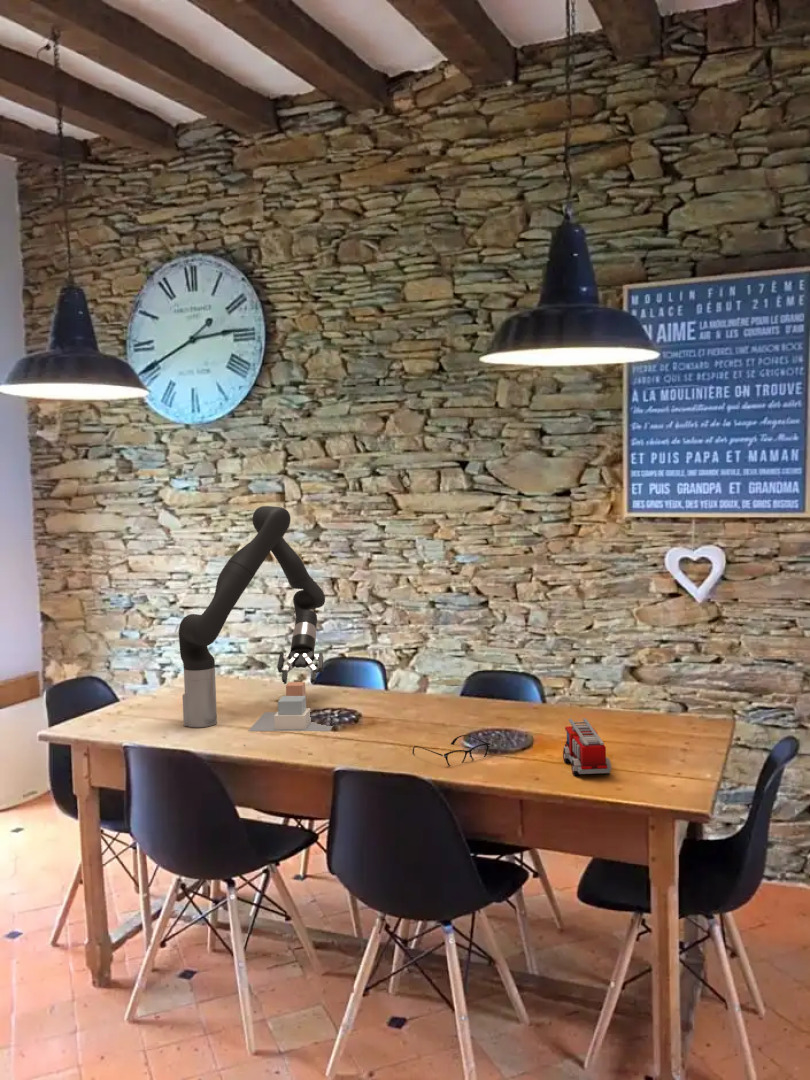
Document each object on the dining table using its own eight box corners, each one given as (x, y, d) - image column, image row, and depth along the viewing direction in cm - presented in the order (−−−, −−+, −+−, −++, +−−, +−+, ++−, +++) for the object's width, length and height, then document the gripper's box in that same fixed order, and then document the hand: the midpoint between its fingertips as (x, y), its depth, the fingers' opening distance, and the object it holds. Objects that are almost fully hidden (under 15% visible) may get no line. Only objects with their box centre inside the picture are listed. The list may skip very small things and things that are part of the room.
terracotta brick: (286, 718, 283) (285, 685, 282) (290, 714, 288) (289, 682, 287) (303, 718, 283) (302, 685, 282) (306, 713, 288) (305, 682, 287)
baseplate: (247, 733, 269) (247, 731, 269) (264, 714, 291) (264, 712, 291) (330, 733, 268) (330, 730, 267) (341, 714, 289) (340, 711, 289)
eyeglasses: (444, 769, 233) (443, 754, 233) (406, 755, 246) (406, 740, 245) (493, 757, 242) (493, 742, 242) (455, 744, 255) (455, 729, 255)
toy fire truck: (595, 756, 240) (594, 718, 239) (613, 779, 221) (613, 738, 221) (560, 757, 240) (559, 719, 239) (576, 780, 221) (575, 739, 220)
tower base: (274, 729, 270) (273, 702, 270) (280, 721, 279) (280, 695, 279) (305, 729, 270) (304, 702, 269) (310, 721, 278) (309, 695, 278)
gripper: (280, 633, 298) (273, 676, 287) (324, 632, 297) (319, 675, 286) (283, 646, 303) (277, 689, 293) (327, 646, 302) (322, 688, 292)
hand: (298, 682), depth 289 cm, fingers open, 8 cm apart
